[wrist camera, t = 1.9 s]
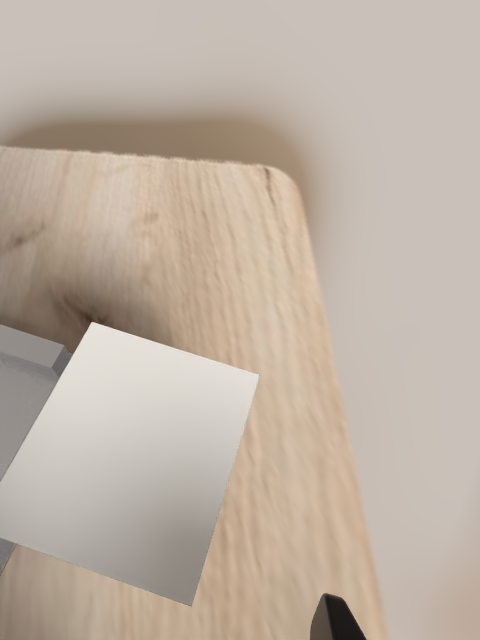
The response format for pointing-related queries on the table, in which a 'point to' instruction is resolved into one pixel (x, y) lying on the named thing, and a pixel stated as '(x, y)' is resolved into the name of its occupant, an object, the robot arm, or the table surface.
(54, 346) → the rail panel
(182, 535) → the block
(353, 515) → the table surface
